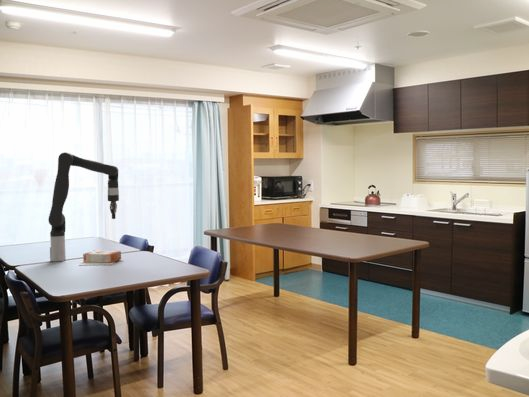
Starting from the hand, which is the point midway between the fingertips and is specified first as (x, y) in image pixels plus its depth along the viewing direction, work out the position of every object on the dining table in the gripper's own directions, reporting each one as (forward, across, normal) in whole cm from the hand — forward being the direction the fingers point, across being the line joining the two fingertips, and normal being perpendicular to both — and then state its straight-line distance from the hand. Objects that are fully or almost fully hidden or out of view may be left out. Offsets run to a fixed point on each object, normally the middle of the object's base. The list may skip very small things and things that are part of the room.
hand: (113, 218), depth 346 cm
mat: (+28, +15, -7) cm, 33 cm away
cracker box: (+24, +14, +4) cm, 28 cm away
